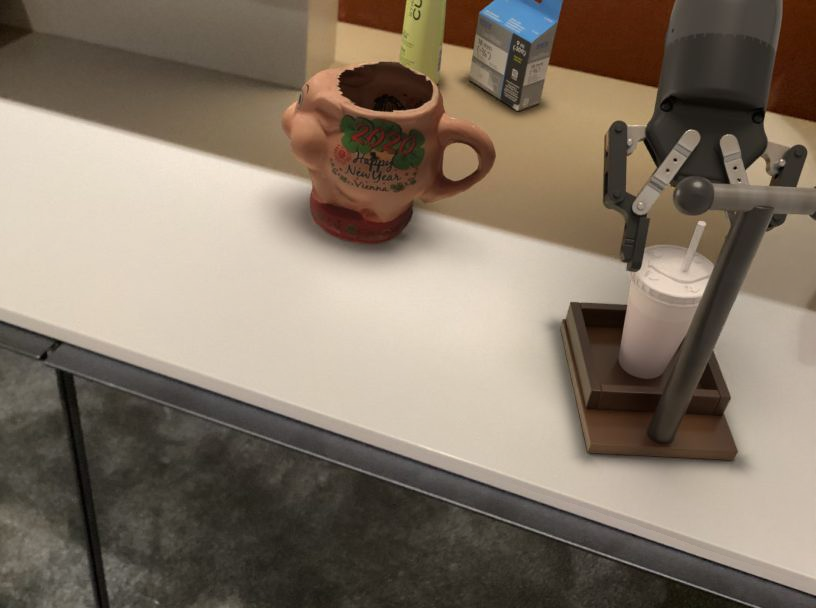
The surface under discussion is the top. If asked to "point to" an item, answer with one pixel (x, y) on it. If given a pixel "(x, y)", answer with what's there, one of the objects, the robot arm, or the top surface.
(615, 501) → the top surface
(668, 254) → the smoothie
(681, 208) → the jewelry holder
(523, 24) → the blue grey carton
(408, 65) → the tube
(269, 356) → the top surface
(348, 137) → the pink novelty mug
